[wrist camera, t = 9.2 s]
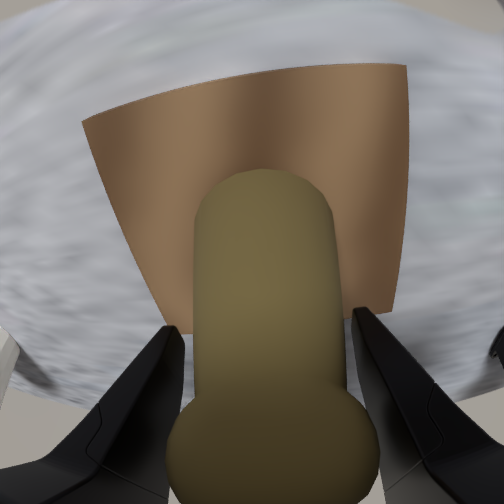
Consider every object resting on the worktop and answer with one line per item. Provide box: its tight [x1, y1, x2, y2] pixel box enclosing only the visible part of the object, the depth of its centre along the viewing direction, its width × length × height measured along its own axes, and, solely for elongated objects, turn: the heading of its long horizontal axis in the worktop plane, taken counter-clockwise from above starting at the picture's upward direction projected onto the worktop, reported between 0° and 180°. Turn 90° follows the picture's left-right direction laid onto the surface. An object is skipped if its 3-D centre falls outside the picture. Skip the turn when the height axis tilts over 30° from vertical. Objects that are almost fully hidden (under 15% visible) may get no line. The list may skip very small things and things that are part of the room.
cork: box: [165, 169, 381, 504], centre depth 9 cm, size 6×6×11 cm
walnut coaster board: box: [82, 63, 409, 334], centre depth 14 cm, size 13×13×1 cm
